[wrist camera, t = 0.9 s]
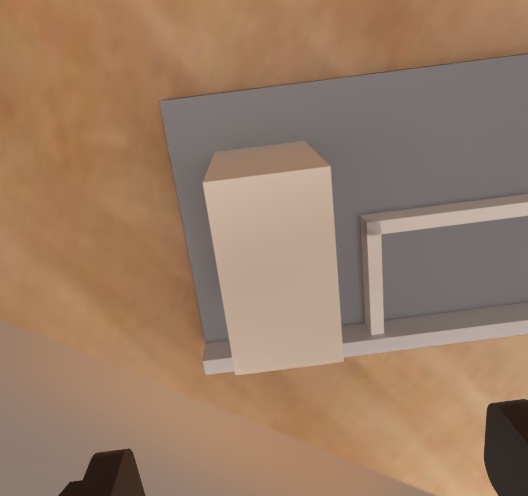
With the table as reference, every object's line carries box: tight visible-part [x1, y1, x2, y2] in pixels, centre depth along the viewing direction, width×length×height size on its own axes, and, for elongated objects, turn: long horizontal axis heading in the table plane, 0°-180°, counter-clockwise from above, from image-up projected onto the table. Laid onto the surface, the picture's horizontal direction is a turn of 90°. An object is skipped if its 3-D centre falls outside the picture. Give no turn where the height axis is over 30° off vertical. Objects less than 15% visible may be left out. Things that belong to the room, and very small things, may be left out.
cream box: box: [203, 141, 344, 375], centre depth 23 cm, size 9×5×8 cm, turn 7°
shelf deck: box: [159, 54, 528, 375], centre depth 27 cm, size 23×16×4 cm
